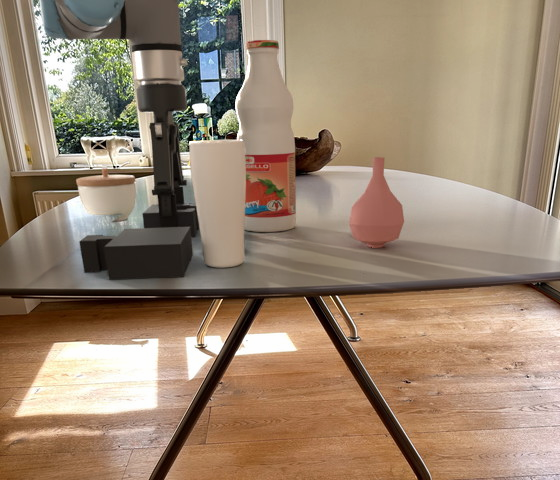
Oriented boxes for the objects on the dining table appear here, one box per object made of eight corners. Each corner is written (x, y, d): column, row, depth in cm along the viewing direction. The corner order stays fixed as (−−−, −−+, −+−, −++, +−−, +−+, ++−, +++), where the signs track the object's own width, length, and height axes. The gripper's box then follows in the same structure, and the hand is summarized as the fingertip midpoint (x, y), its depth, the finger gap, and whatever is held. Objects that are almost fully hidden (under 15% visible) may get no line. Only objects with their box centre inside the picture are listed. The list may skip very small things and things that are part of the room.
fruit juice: (307, 226, 102) (306, 40, 91) (269, 235, 96) (263, 36, 84) (267, 221, 108) (262, 46, 97) (229, 229, 102) (218, 42, 90)
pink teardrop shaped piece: (388, 239, 90) (392, 154, 85) (412, 249, 83) (417, 157, 78) (340, 243, 88) (341, 157, 83) (360, 253, 81) (363, 160, 77)
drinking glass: (190, 262, 79) (180, 141, 73) (236, 255, 82) (230, 139, 76) (210, 272, 74) (201, 143, 68) (259, 265, 77) (254, 140, 71)
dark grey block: (145, 238, 96) (142, 213, 94) (154, 227, 105) (152, 204, 103) (195, 236, 96) (192, 211, 94) (200, 226, 105) (198, 203, 103)
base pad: (75, 280, 72) (69, 247, 70) (99, 258, 83) (95, 229, 81) (183, 277, 72) (180, 243, 71) (193, 255, 83) (190, 226, 82)
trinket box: (111, 214, 121) (104, 165, 118) (151, 217, 116) (145, 166, 113) (70, 222, 113) (61, 170, 109) (111, 225, 108) (104, 171, 104)
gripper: (175, 79, 81) (190, 243, 90) (191, 86, 102) (202, 219, 111) (120, 80, 81) (140, 244, 90) (147, 87, 102) (161, 220, 111)
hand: (174, 230), depth 100 cm, fingers closed on dark grey block, 10 cm apart
